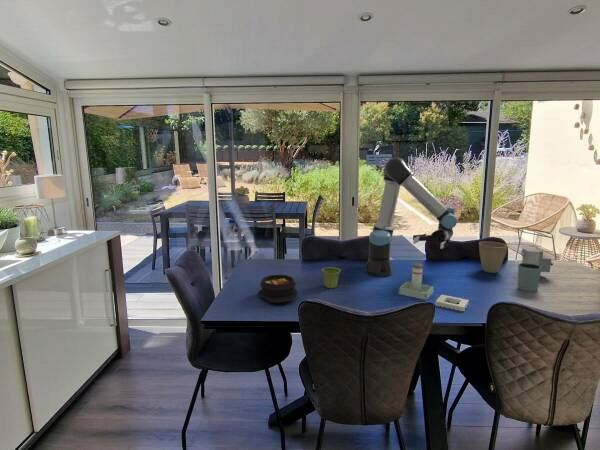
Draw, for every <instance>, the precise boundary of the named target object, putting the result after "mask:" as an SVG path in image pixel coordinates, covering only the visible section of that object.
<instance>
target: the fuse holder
mask: <svg viewBox="0 0 600 450" xmlns="http://www.w3.org/2000/svg"><path fill="white" fill-rule="evenodd" d="M448 301H449V302H448ZM469 301H470V300H469V299H464V298H461V297H460V298H459V297H455V296H450V295H447V294H441V295H440V296H439V297H438V298H437V299H436V300H435V304H434V305H436V307H440V306H441V308H444V307H445V309H449V308H450V310H453V309H454V310H455V311H458V310H459V311H458V312H462V311H464V312H465V310H466V309H467V308H468V306H469ZM457 303H459V304H457ZM467 305H468V306H467ZM465 308H466V309H465Z"/></svg>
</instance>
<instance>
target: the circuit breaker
mask: <svg viewBox="0 0 600 450" xmlns="http://www.w3.org/2000/svg"><path fill="white" fill-rule="evenodd" d="M521 249H522V250H521V253H520V256H521V257H522V260H521V263H530V264H535V265H539V266H541V273H540V275H541V274H542V273H550V272H551V266H554V263H553V262H552V258H551V257H549V256H547V255H546V254H544V251H542V250H541V249H540V248H535V247H532V248H531V247H522V248H521ZM539 279H541V276H540V277H539Z"/></svg>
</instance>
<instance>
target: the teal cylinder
mask: <svg viewBox="0 0 600 450" xmlns="http://www.w3.org/2000/svg"><path fill="white" fill-rule="evenodd" d="M517 270H518V272H517V288H518V289H520V290H521V291H524V292H537V291H538V288H539V283H540V282H539V281H540V278H541V274H542V272H541V266H539V265H535V264H530V263H522V262H521V263H518V265H517ZM540 273H541V274H540ZM539 277H540V278H539Z"/></svg>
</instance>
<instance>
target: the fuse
mask: <svg viewBox="0 0 600 450" xmlns="http://www.w3.org/2000/svg"><path fill="white" fill-rule="evenodd" d="M411 265H412V267H411V269H412V270H411V273H412V274H411V282H412V284H411V290H414V291H419V292H422V290H421V287H422V285H423V284H422V283H423V271H424V270H423V269H424V264H423V263H420V262H413V263H412V264H411Z"/></svg>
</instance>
